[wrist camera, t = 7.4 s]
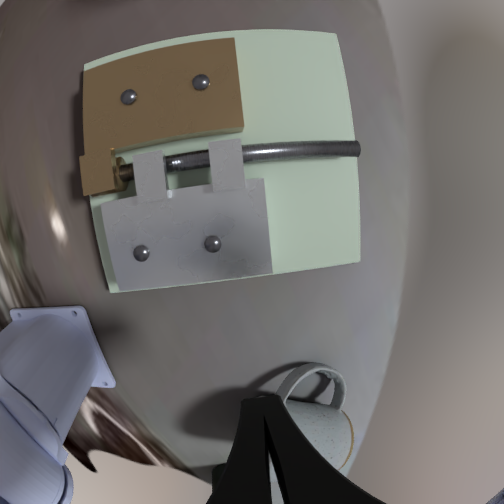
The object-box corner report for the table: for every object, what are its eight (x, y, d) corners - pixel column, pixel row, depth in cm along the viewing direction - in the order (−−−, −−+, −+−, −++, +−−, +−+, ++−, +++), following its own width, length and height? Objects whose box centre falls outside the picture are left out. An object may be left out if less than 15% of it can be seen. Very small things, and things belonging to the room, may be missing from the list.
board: (114, 288, 17) (110, 293, 17) (89, 68, 13) (84, 64, 12) (355, 258, 18) (360, 261, 18) (332, 38, 14) (336, 33, 13)
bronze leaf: (96, 197, 15) (77, 201, 12) (89, 81, 13) (71, 70, 10) (350, 165, 16) (369, 164, 13) (333, 51, 13) (348, 36, 11)
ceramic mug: (308, 436, 24) (327, 492, 16) (234, 430, 22) (239, 494, 15) (358, 362, 21) (398, 421, 14) (274, 349, 20) (297, 423, 13)
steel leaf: (127, 281, 16) (115, 295, 14) (107, 166, 14) (90, 166, 12) (268, 264, 17) (274, 277, 15) (256, 141, 15) (261, 136, 12)
